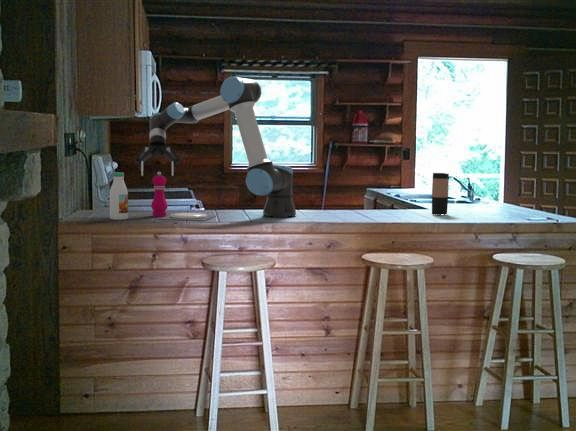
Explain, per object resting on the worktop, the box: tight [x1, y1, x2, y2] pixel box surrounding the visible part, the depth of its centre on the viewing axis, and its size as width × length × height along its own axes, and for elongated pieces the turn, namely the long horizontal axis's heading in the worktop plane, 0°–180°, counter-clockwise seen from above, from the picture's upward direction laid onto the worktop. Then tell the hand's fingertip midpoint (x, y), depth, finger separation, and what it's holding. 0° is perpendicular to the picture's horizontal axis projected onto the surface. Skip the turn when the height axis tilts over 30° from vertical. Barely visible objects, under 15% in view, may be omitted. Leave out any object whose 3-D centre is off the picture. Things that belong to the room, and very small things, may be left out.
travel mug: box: [431, 172, 450, 215], centre depth 346 cm, size 8×8×20 cm
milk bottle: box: [109, 172, 129, 221], centre depth 308 cm, size 8×8×20 cm
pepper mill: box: [150, 171, 169, 218], centre depth 322 cm, size 7×7×20 cm
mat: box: [159, 214, 217, 222], centre depth 317 cm, size 20×20×1 cm
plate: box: [169, 212, 208, 219], centre depth 317 cm, size 16×16×1 cm
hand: (157, 173), depth 325 cm, fingers open, 13 cm apart
